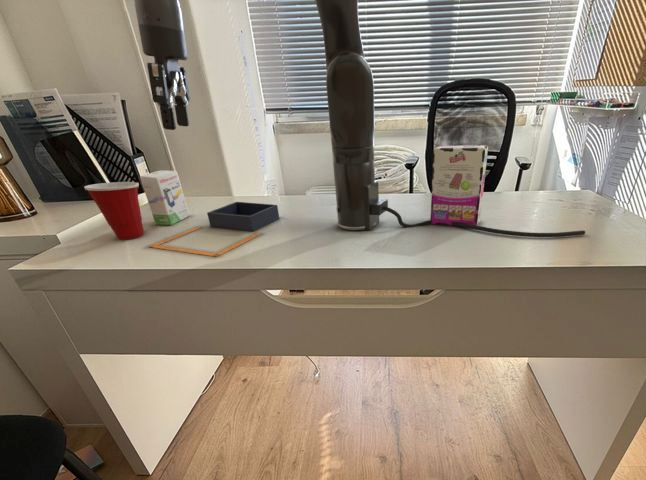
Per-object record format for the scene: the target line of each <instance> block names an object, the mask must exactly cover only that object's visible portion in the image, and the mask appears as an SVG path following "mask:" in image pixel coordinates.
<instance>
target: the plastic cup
mask: <svg viewBox="0 0 646 480" xmlns="http://www.w3.org/2000/svg"><path fill="white" fill-rule="evenodd" d="M139 186H140V184H139V182H134V181H114V182H101V183H94V184H88V185H85V186H83V187H84V189H85V191H87V192H88V194H89V195H90V197H91V198H92V200H93V202H94V203H95V204H96V206H97V208H98V209H99V211H100V212H101V214H102V216H103V217H104V219H105V221H106V222H107V224H108V226H109V227H110V228H111V230H112V231H113V233H114V235H115V236H116V237H117V239H118V240H123V241H125V240H132V239H138V238H140V237H142V236H144V235H145V233H144V232H145V231H144V230H145V229H144V225H143V221H142V220H143V219H142V212H141V207H140V202H139V201H140V200H139V191H138V190H139Z"/></svg>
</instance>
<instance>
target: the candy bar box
mask: <svg viewBox="0 0 646 480" xmlns="http://www.w3.org/2000/svg"><path fill="white" fill-rule="evenodd" d="M488 153H489V145H438V146H436V147H434V148H433V149H432V176H431V198H430V219H429V220H431V221H433V223H432V224H431V225H438V226H450V227H456V226H455V225H452V224H451V223H452V222H460V223H465V224H471V225H477V226H479V224H480V222H481V217H482V206H483V198H484V189H485V179H486V170H487V163H488V162H487V161H488Z"/></svg>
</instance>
